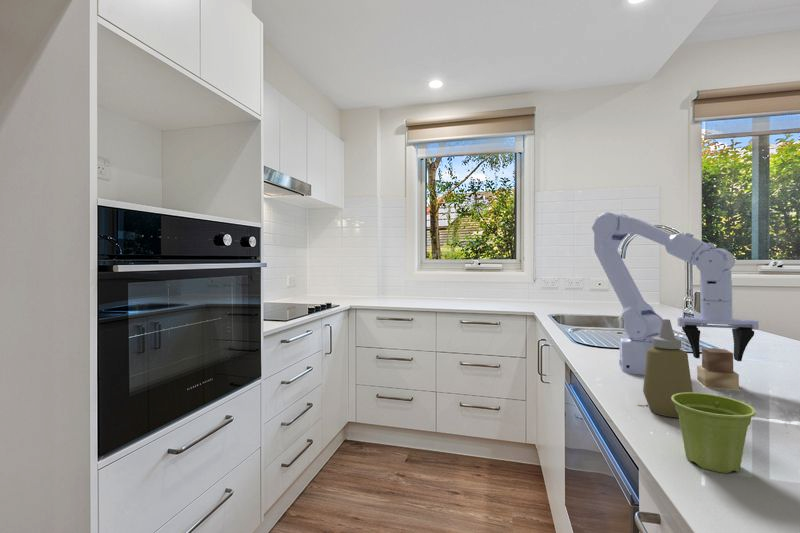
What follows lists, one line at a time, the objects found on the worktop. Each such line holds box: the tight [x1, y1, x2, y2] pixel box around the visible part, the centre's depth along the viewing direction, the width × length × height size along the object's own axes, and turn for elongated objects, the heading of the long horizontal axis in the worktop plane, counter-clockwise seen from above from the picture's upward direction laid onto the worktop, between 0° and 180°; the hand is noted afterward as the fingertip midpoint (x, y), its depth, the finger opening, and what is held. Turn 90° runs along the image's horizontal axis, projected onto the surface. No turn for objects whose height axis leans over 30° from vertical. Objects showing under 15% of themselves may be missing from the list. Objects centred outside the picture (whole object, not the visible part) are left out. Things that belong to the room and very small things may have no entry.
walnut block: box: [701, 347, 734, 373], centre depth 88 cm, size 4×4×4 cm
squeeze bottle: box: [642, 318, 694, 418], centre depth 74 cm, size 8×8×18 cm
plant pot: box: [671, 392, 757, 474], centre depth 55 cm, size 9×9×9 cm
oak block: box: [696, 365, 740, 391], centre depth 88 cm, size 6×6×4 cm
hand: (716, 358), depth 88 cm, fingers open, 7 cm apart
